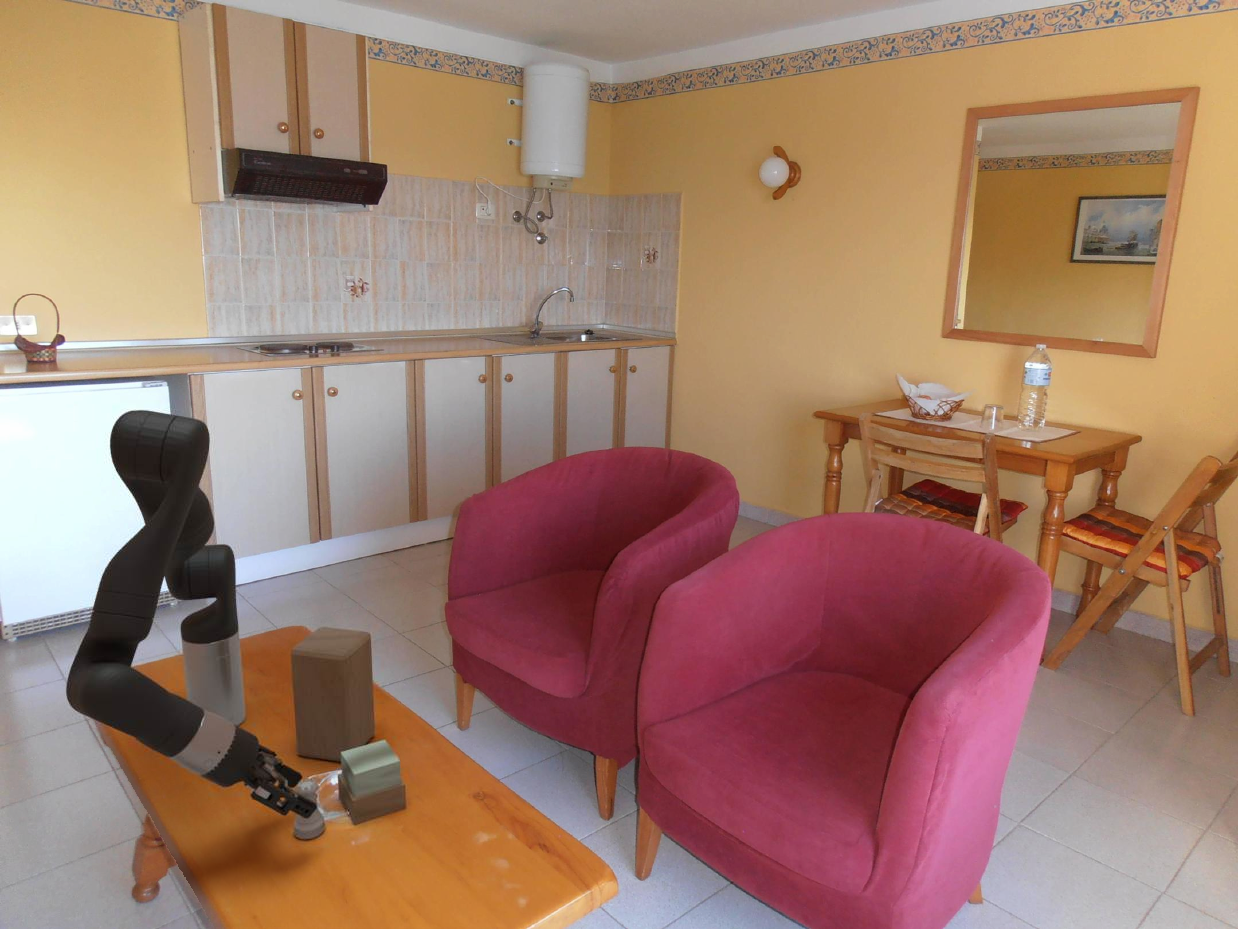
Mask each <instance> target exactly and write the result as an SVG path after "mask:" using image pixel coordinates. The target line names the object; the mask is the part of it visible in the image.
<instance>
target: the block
mask: <svg viewBox="0 0 1238 929" xmlns="http://www.w3.org/2000/svg"><path fill="white" fill-rule="evenodd" d="M372 650H373V649H372V635H371V633H370V632H369V631H368V632H367V631H365V630H364V631H362V630H354V629H347V628H345V629H344V628H337V627H327V626H321V627H318V628H317V629H316V630H315V631H313V632H312V633H310V634H309V635H308V636H307V637H304V638H303V639H302V640H301V641H300V642H298V643H297V644H295V645H293V647H292V648H291V650H290V651H291V652H290V662H291V663H290V664H291V675H292V676H291V677H292V691H293V705H294V706H293V707H294V709H293V710H294V721H295V722H294V723H295V726H294V727H295V738H296V739H295V740H296V752H297V754H298V755H300V756H302V757H308V758H314V759H319V760H320V759H322V760H327V761H334V762H340V763H341V752H343V751H347V750H350V749H354V748H357V747H361V746H364V745H367V743H368V742H369V741H370V740H371V739H372V738H373V737H374V735H375V732H376V726H375V705H374V703H375V702H374V700H375V699H374V676H373V675H374V674H373V656H372Z"/></svg>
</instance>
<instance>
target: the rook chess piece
mask: <svg viewBox="0 0 1238 929" xmlns="http://www.w3.org/2000/svg"><path fill="white" fill-rule="evenodd" d="M319 788H320V786H319V784H318V783H317V781H316V780H315V779H314V778H311V779H310V778H309V777H307V778H306V777H305V780H303V779H301V780H300V781H299V783H298V784H297V786H296V788H294V789H295V790H294V791H296V792H297V793H298V794H300V795H302V796H304V797H305V798H307V799H309V800H311V801H313V802H315V803H316V805H317V809H316V810H315V811H314V813H313V814H312V815H311V816H310V817H309V818H304V817H302V816H300V815H298V814H297V815H296V819H295V820H294V822H293V834H294V836H295V837H297V839H298V838H299V840H304V841H305V840H312V839H314V838H317V837H318V836H320V835H322V833H323V832H324V830H325V828H326V823H325V817H324V815H323V814H322V813H321V812H320V810H319V807H318V803H317V799H318V794H317V792H318V790H319Z"/></svg>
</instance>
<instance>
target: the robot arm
mask: <svg viewBox="0 0 1238 929" xmlns="http://www.w3.org/2000/svg"><path fill="white" fill-rule="evenodd" d="M210 439H211V437H210V432H209V428H208V426H207V424H206V423H205V421H202V420H201V419H197V418H192V417H188V416H187V417H186V416H182V415H177V414H176V415H175V414H170V413H164V412H158V411H153V410H146V409H139V410H138V409H136V410H135V409H134V410H129V411H126V412H125V413H123V414H121V415H120V416H119V417H118V419H116V421H115V423H114V425H113V426H112V429H111V432H110V438H109V450H110V457H111V458H110V459H111V462H112V464H113V467H114V469H115V471H116V473H117V474H118V476H119V478H120V479H121V481H122V482H123V484H124V485H125V486H126V488H127V490H128V491H129V492H130V494H131V495H132V497H133V499H134V500H135V503H136V504H137V506H138V509H139V511H140V513H141V516H142V519H143V523H144V526H143V527H142V528H140V529H139V530H138V531H137V533H135V534H134V536H132V537H131V538H130V539H129V540H128V541H127V542H126V543H125V544H124V545H123V546H121V548H120V549H119V550H118V552H116V553H115V554H114V555H113V557H111V559H110V561H109V562H108V564H107V565H106V567H105V569H104V571H103V573H102V575H101V577H100V580H99V581H100V582H99V584H98V587H97V592H96V595H95V599H94V603H93V606H92V611H91V615H90V619H89V620H90V621H89V623H88V624H89V625H88V628H87V630H86V632H85V634H84V636H83V638H82V640H81V642H80V645H79V647H78V650H77V652H76V654H75V656H74V659H73V662H72V664H71V666H70V669H69V673H68V677H67V681H66V687H65V688H66V689H65V693H66V694H65V695H66V699H67V701H68V704H69V705H70V707H71V708H72V709H73V710H74V711H76V713H79V714H81V715H83V716H85V717H88V718H90V719H92V720H95V721H96V722H98V723H101V724H103V725H105V726H108V727H110V728H112V729H115V730H116V731H119V732H121V733H124V734H126V735H128V736H130V737H133V738H135V739H136V741H138V742H139V743H141V744H142V745H144V746H146V747H147V748H149V749H151V750H153V751H155V752H156V753H158V754H161V755H163V756H164V757H167V758H169V759H170V760H171V761H173V762H175V763H176V764H177V765H179V766H180V767H182V768H183V769H186V770H187V771H190V772H192V773H193V774H195V775H197V776H200V777H201V778H203V779H205V780H207V781H210V783H211V782H212V783H213V784H215V785H217V786H219V787H221V788H229V787H232V786H234V785H235V784H237V783H241V782H243V785H244V786H245V787H246V788H247V789H249V791H251V793H250V797H251V799H252V800H254V801H255V802H256V801H257V803H260V804H261V805H263V806H265V807H267V808H269V809H271V810H273V811H274V812H277V813H278V814H280V815H282V816H283V817H286V816H287V815H288V814H289V812H292V813H294V814H296V815H297V816H298V815H300V816H302V817H304V818H309V817H310V816H311V815H312V814H313V813H314V811H315V810H316V809H317V806H318V804H317V805H316V803H315V802H313V801H311V800H309V799H307V798H305V797H304V796H302V795H300V794H298V793H297V792H296V791H295V790H294V789H295V787H296V788H297V786H298V783H299V781H301V780H303V775H302V774H301V773H300V772H299V771H297V770H295V769H294V768H291V767H290V766H288V765H286V764H285V763H284V762H283V761H282V759H281V758H278V757H277V756H278V754H277V753H276V751H275V750H271V749H269V748H267V747H265V746H264V745H262V744H260V741H259V738H258V737H257V736H256V735H255V734H253V733H251V732H249V731H247V730H246V729H244V728H243V727H241V726H239V725H240V724H242V723H243V722H244V721H245V719H246V705H245V692H244V691H245V690H244V679H243V667H242V665H243V664H242V655H241V654H242V653H241V652H242V651H241V644H240V643H241V641H240V640H241V639H240V631H239V630H240V629H239V619H238V618H239V617H238V608H237V607H238V606H237V605H238V604H237V577H236V576H237V574H236V573H237V572H236V569H237V568H236V559H235V554H234V550H233V549H232V547H231V546H230V545H228V544H224V543H223V544H221V543H219V544H209V545H208V544H207V543H208V542H209V541H210V539H211V537H212V534H213V533H214V530H215V519H214V514H213V511H212V507H211V503H210V501H209V499H208V497H207V495H206V493H205V492H204V491H203V490H202V489H201V488H200V487H199V485H200V483H201V481H202V478H203V475H204V472H205V469H206V465H207V461H208V459H209V457H208V456H209V452H210V443H211V440H210ZM206 544H207V545H206ZM164 581H165V583H166V584H165V585H166V586H167V590H168V591H169V593H170V595H171V596H172V597H173V598H174V599H175V600H177V601H178V600H179V601H194V600H205V599H206V600H207V599H215V600H214V601H213V602H212V603H210V604H209V605H207V606H205V607H203V608H201V609H199V610H196V611H195V612H192V613H191V614H189V615H187V616H186V617H184V619H182V621H181V623H180V636H181V646H182V656H183V668H184V679H185V689H186V690H185V691H186V698H184V697H182V696H180V695H178V694H176V693H173V692H170V691H168V690H167V689H166V688H165V687H163V686H162V685H160V684H159V683H157V682H156V681H155V680H153V679H151V678H150V677H148V676H147V675H146V674H144V673H142V672H140V671H139V670H137V669H135V668H134V667H132V664H133V663H134V662H133V661H134V658H135V655H136V653H137V650H138V647H139V645H140V643H141V642H143V641H145V640H146V639H147V638H148V636H149V635H150V632H151V630H152V626H153V623H154V618H155V616H156V611H157V608H158V603H159V600H160V599H159V598H160V595H161V591H162V586H163V582H164ZM277 782H278V784H277V785H275V784H276V783H277ZM293 788H294V789H293ZM282 798H283V800H282Z"/></svg>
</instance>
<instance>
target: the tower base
mask: <svg viewBox="0 0 1238 929" xmlns="http://www.w3.org/2000/svg"><path fill="white" fill-rule="evenodd" d="M340 764H341V765H340V766H341V767H340V768H341V773H338V774H337V786H338V787H337V789H338V790H337V791H338V799H339V800H340V802H341V803H342V806H343V807H344V809H345V811H346V810H347V811H348V812H349V814H348V816H349V817H350V820H351V821H352V824H353V826H355V825H358V824H362V823H365V822H368V821H371V820H373V819H372V818H374V819H376V818H375V817H377V818H379V817H382V816H385V815H388V814H392V813H395V812H397V810H398V811H400V810H405V809H406V808H407V795H406V794H407V792H406V784H405V782H404V781H403V779H402V778H401V777H402V775H401V774H402V772H401V760H400V758H399V757H398V755H396V753H395V752H394V750H393V749H392V748H391V746H390V744H389V743H388V742H387V741H386V739H382V740H379V741H375V742H372V743H368V744H365V745H364V746H361V747H357V748H354V749H350V750H347V751H343V752H341V762H340ZM405 807H406V808H405ZM347 811H346V812H347ZM367 820H368V821H367Z"/></svg>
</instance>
